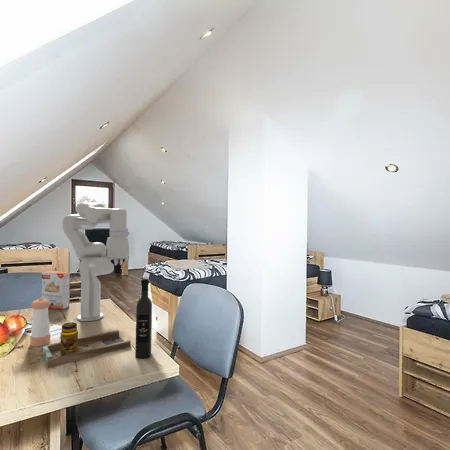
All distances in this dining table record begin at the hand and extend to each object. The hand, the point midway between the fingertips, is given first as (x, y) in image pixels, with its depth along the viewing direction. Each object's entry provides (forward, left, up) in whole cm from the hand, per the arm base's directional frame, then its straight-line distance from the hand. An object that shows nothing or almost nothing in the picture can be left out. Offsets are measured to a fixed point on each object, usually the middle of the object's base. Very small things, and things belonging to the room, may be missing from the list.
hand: (117, 273), depth 147 cm
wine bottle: (+33, -1, -27) cm, 43 cm away
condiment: (+15, -24, -27) cm, 39 cm away
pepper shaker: (-3, -31, -27) cm, 41 cm away
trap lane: (+15, -17, -27) cm, 35 cm away
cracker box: (-55, -16, -27) cm, 63 cm away
